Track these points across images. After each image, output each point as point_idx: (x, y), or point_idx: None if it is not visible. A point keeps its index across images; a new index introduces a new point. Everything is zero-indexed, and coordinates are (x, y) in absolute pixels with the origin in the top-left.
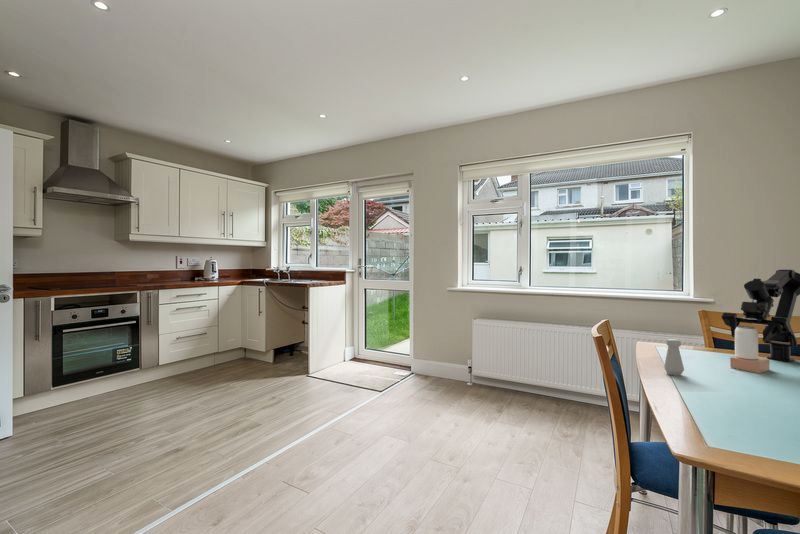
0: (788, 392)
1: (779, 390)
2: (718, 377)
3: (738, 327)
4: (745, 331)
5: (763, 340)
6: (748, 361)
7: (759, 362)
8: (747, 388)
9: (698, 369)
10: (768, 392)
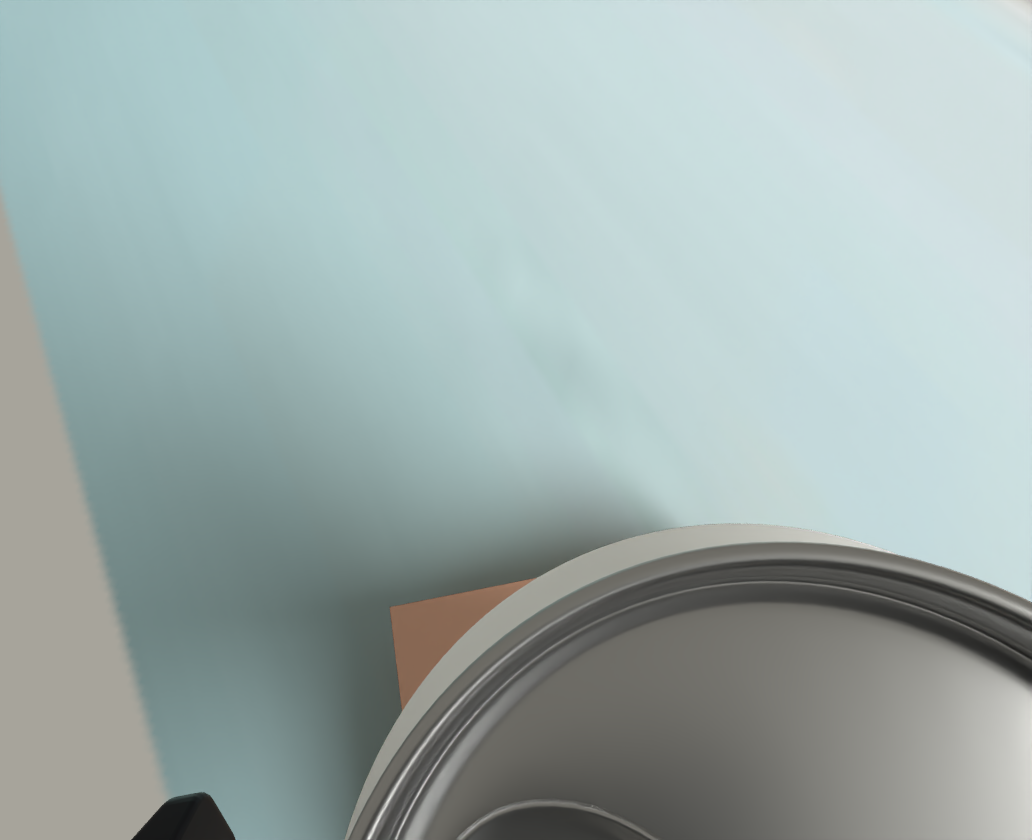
0: (31, 197)
1: (84, 185)
2: (490, 78)
3: (950, 598)
4: (558, 571)
5: (201, 811)
6: (522, 582)
7: (393, 615)
8: (221, 24)
9: (759, 142)
10: (108, 69)
